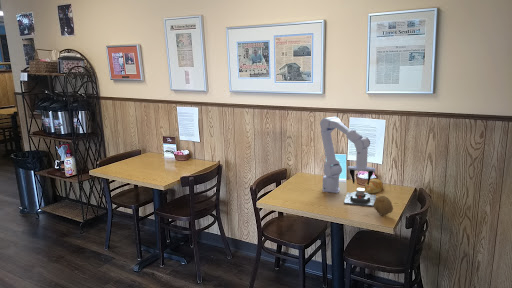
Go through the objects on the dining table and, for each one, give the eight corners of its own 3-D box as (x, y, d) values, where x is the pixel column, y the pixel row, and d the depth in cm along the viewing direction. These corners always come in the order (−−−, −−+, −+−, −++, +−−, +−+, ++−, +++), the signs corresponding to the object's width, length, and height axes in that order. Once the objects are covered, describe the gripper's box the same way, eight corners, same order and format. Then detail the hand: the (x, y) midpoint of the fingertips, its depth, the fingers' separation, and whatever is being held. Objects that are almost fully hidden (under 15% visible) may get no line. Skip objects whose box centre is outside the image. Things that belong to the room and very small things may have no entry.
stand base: (343, 204, 208) (344, 197, 207) (347, 194, 222) (347, 188, 221) (374, 207, 202) (374, 200, 202) (375, 196, 217) (376, 190, 216)
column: (355, 201, 211) (356, 190, 210) (356, 198, 215) (356, 187, 214) (364, 201, 210) (364, 190, 208) (364, 199, 214) (364, 188, 212)
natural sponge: (370, 211, 197) (371, 193, 195) (387, 210, 198) (388, 192, 195) (376, 218, 188) (377, 199, 186) (394, 217, 189) (395, 198, 186)
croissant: (372, 201, 220) (379, 191, 216) (357, 191, 223) (363, 180, 220) (383, 190, 236) (390, 180, 232) (369, 180, 240) (375, 170, 236)
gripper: (347, 160, 206) (346, 184, 209) (375, 162, 201) (374, 187, 204) (348, 157, 212) (348, 180, 215) (376, 159, 208) (374, 182, 211)
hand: (360, 183), depth 210 cm, fingers open, 7 cm apart
